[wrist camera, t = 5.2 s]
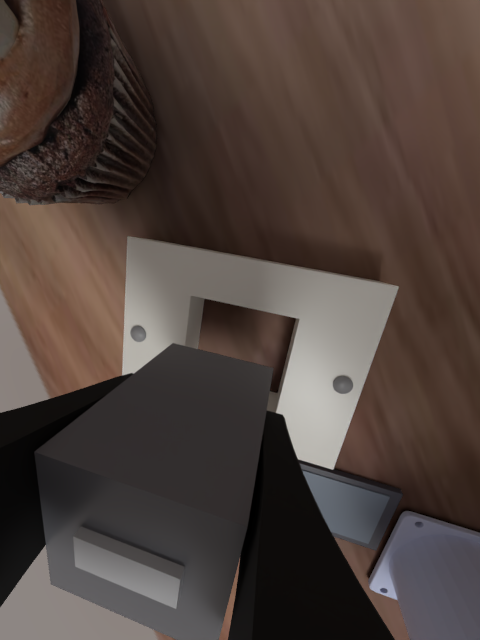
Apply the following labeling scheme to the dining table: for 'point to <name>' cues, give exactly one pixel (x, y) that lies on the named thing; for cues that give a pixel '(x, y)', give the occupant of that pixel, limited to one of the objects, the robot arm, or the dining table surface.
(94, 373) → the dining table surface
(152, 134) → the cupcake
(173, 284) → the outlet plate
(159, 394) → the block
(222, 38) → the dining table surface
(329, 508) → the phone slab
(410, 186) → the dining table surface
